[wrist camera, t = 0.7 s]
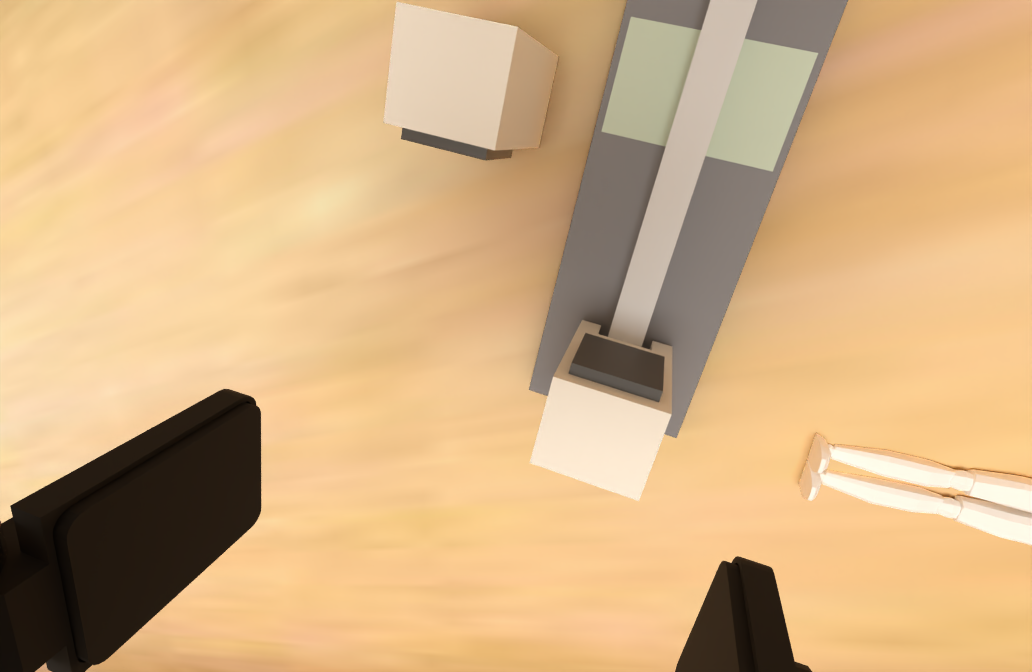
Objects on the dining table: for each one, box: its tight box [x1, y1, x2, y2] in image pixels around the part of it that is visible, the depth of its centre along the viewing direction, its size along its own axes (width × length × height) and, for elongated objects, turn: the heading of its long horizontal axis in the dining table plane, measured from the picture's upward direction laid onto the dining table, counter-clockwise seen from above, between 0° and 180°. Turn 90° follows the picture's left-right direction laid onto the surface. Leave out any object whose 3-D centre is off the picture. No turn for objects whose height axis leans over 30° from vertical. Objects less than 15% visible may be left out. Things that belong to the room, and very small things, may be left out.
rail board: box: [529, 0, 848, 501], centre depth 27 cm, size 25×10×11 cm, turn 168°
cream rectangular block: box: [383, 2, 559, 160], centre depth 28 cm, size 6×6×9 cm
